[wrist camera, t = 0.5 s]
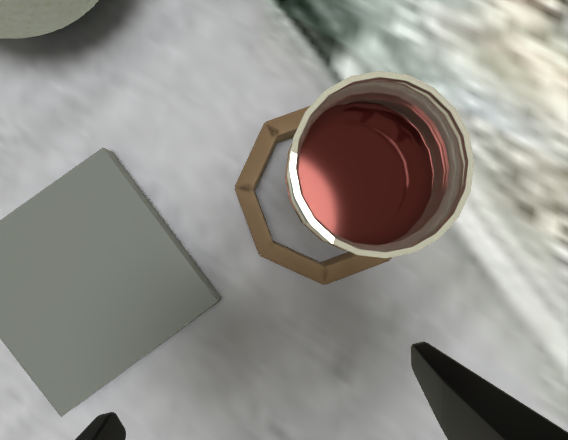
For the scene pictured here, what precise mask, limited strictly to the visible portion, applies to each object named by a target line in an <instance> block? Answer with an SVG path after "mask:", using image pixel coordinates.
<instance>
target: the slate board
mask: <svg viewBox="0 0 568 440" xmlns="http://www.w3.org/2000/svg"><path fill="white" fill-rule="evenodd" d="M220 298H221V297H220V295H219V294H218V293H217V291H216V290H215V289H214V287H213V286H212V285H211V283H210V282H209V281H208V279H207V278H206V277H205V275H204V274H203V273H202V271H201V270H200V269H199V267H198V266H197V265H196V263H195V262H194V261H193V259H192V258H191V257H190V255H189V254H188V252H187V251H186V250H185V248H184V247H183V246H182V244H181V243H180V242H179V240H178V239H177V238H176V236H175V235H174V234H173V232H172V231H171V230H170V228H169V227H168V226H167V224H166V223H165V222H164V220H163V219H162V218H161V216H160V215H159V214H158V212H157V211H156V210H155V208H154V207H153V205H152V204H151V203H150V201H149V200H148V199H147V197H146V196H145V195H144V193H143V192H142V191H141V189H140V188H139V187H138V185H137V184H136V183H135V181H134V180H133V179H132V177H131V176H130V175H129V173H128V172H127V171H126V169H125V168H124V167H123V165H122V164H121V163H120V161H119V160H118V159H117V157H116V156H115V154H114V153H113V152H112V151H110V150H107V149H105V148H101V149H100V150H99V151H97V152H96V153H94V154H93V155H92V156H90V157H89V158H87V159H86V160H85V161H83V162H82V163H80V164H79V165H78V166H76V167H75V168H73V169H72V170H70V171H69V172H68V173H66V174H65V175H63V176H62V177H61V178H59V179H58V180H56V181H55V182H54V183H52V184H51V185H49V186H48V187H47V188H45V189H44V190H42V191H41V192H40V193H38V194H37V195H35V196H34V197H32V198H31V199H30V200H28V201H27V202H25V203H24V204H23V205H21V206H20V207H18V208H17V209H16V210H14V211H13V212H11V213H10V214H9V215H7V216H6V217H4V218H3V219H1V220H0V339H1V340H2V341H3V343H4V344H5V345H6V347H7V348H8V349H9V350H10V352H11V353H12V354H13V356H14V357H15V358H16V359H17V361H18V362H19V363H20V365H21V366H22V367H23V369H24V370H25V371H26V372H27V374H28V375H29V376H30V378H31V379H32V380H33V381H34V383H35V384H36V385H37V387H38V388H39V389H40V390H41V392H42V393H43V394H44V396H45V397H46V398H47V400H48V401H49V402H50V403H51V405H52V406H53V407H54V409H55V410H56V411H57V412H58V414H59V415H60V416H61V417H62V416H63V415H65V414H66V413H67V412H69V411H70V410H71V409H73V408H74V407H75V406H77V405H78V404H80V403H81V402H82V401H84V400H85V399H86V398H88V397H89V396H90V395H92V394H93V393H94V392H96V391H97V390H99V389H100V388H101V387H103V386H104V385H105V384H107V383H108V382H109V381H111V380H112V379H114V378H115V377H116V376H118V375H119V374H120V373H122V372H123V371H124V370H126V369H127V368H128V367H130V366H131V365H133V364H134V363H135V362H137V361H138V360H139V359H141V358H142V357H143V356H145V355H146V354H147V353H149V352H150V351H152V350H153V349H154V348H156V347H157V346H158V345H160V344H161V343H162V342H164V341H165V340H167V339H168V338H169V337H171V336H172V335H173V334H175V333H176V332H177V331H179V330H180V329H181V328H183V327H184V326H186V325H187V324H188V323H190V322H191V321H192V320H194V319H195V318H196V317H198V316H199V315H200V314H202V313H203V312H205V311H206V310H207V309H209V308H210V307H211V306H213V305H214V304H215V303H217V302H218V301H219V299H220Z"/></svg>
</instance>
